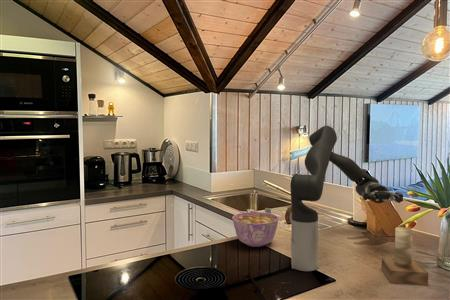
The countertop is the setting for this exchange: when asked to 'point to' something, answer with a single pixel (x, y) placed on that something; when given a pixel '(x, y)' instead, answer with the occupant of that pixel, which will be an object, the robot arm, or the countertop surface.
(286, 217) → the tin
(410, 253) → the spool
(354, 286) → the countertop surface
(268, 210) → the flask
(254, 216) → the bowl of food
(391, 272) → the walnut base
